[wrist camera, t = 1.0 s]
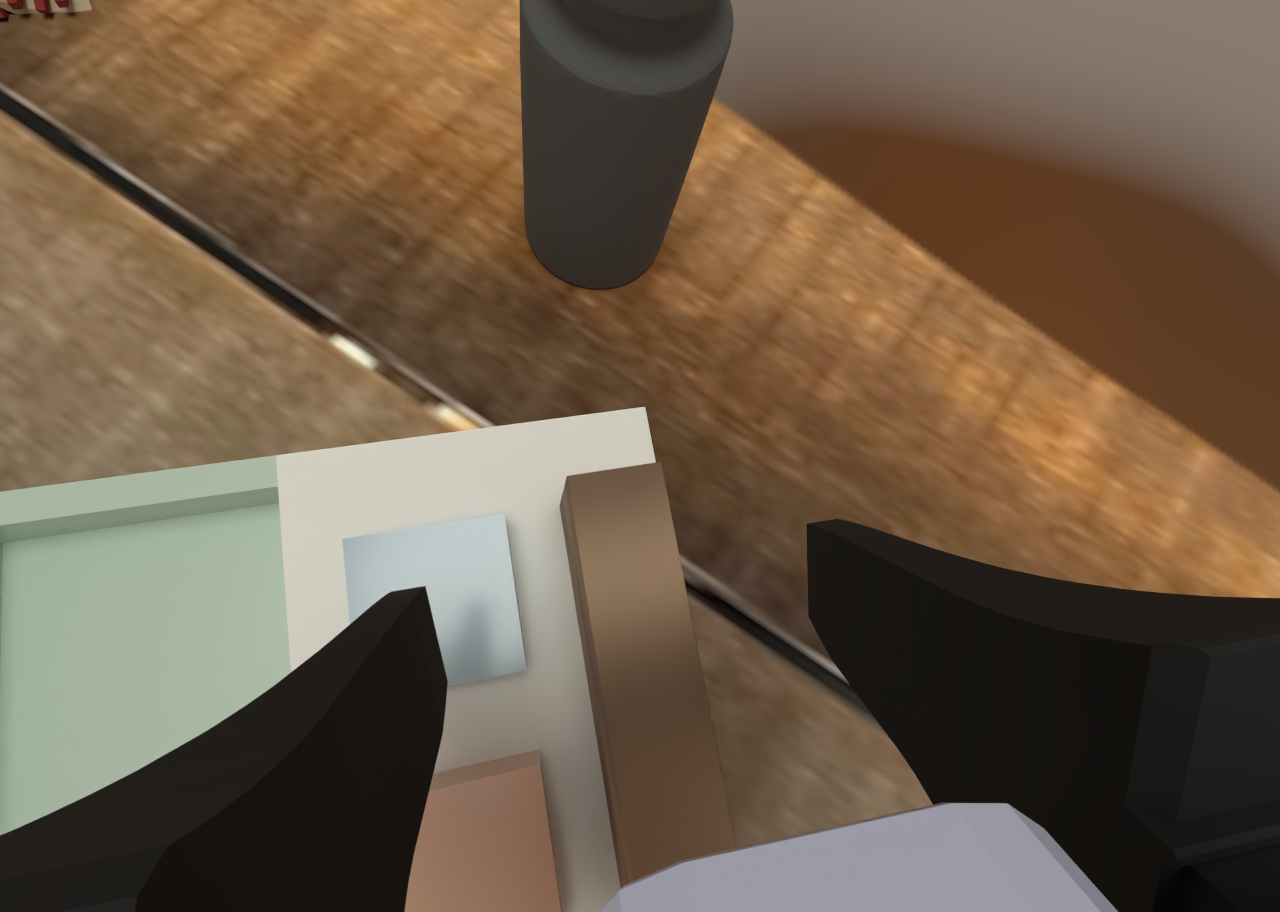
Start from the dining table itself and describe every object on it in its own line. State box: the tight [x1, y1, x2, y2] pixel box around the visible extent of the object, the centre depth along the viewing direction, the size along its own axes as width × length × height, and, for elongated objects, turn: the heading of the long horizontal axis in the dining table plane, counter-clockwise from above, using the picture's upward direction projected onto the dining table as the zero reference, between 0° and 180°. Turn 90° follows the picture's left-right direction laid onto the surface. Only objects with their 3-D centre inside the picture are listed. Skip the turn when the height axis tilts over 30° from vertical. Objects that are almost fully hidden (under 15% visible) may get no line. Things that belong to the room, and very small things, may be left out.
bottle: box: [520, 0, 733, 289], centre depth 20 cm, size 6×6×15 cm
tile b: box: [342, 513, 527, 687], centre depth 19 cm, size 4×4×2 cm
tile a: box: [405, 749, 563, 912], centre depth 17 cm, size 4×4×2 cm
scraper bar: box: [559, 462, 737, 888], centre depth 18 cm, size 12×2×5 cm, turn 11°
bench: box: [276, 407, 656, 912], centre depth 21 cm, size 18×12×3 cm, turn 11°
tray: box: [0, 456, 291, 835], centre depth 19 cm, size 18×10×3 cm, turn 11°
